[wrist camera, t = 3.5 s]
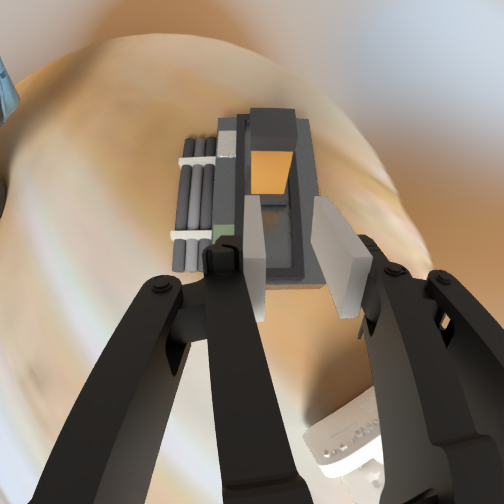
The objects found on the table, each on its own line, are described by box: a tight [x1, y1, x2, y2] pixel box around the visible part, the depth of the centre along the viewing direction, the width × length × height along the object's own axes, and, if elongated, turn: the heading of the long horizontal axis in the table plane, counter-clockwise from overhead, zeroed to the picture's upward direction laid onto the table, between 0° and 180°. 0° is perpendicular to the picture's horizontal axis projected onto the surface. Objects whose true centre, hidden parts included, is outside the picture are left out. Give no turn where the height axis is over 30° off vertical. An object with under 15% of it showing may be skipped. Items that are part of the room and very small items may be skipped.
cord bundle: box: [170, 137, 217, 272], centre depth 35 cm, size 18×5×2 cm, turn 0°
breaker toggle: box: [247, 108, 298, 205], centre depth 27 cm, size 4×4×11 cm
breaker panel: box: [211, 114, 326, 290], centre depth 34 cm, size 22×12×4 cm, turn 0°
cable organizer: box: [303, 385, 385, 504], centre depth 23 cm, size 15×11×12 cm
